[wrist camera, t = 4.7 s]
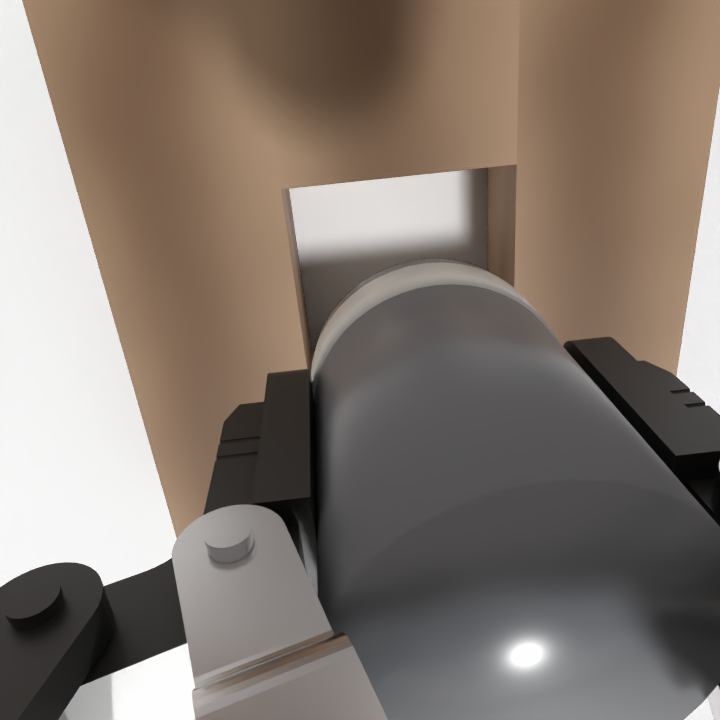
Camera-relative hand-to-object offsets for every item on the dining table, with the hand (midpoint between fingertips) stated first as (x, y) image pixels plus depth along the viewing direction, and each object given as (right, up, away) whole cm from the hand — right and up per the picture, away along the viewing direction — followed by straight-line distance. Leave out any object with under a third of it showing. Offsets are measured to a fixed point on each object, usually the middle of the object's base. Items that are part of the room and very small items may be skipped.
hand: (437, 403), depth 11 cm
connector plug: (0, +1, +1) cm, 1 cm away
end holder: (0, +4, +9) cm, 10 cm away
